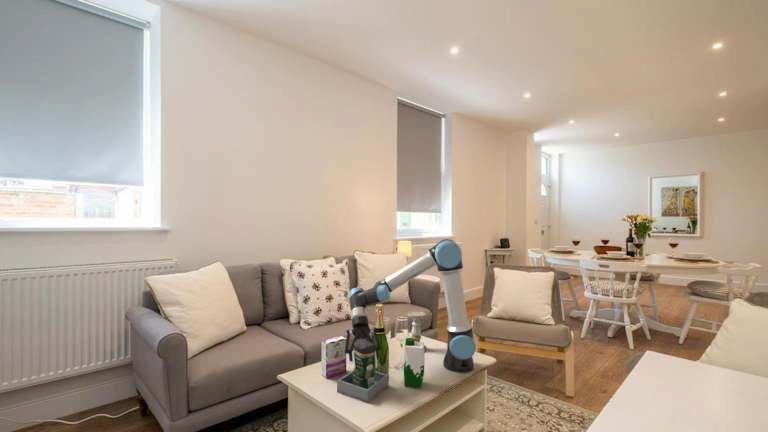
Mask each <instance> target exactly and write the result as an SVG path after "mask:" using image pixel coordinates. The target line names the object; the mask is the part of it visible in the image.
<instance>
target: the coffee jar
mask: <svg viewBox="0 0 768 432" xmlns="http://www.w3.org/2000/svg"><path fill="white" fill-rule="evenodd" d="M374 344H375V343H374ZM374 344H372V343H370V342H368V341H366V339H357V341H356V342H355V343H354V349H353V351H352V352H354V358H355V370H353V369H352V371H353V383H354V384H355V385H356V386H359V387H362V388H370V387H371V386H372V385H374V371H375V365H374V356H375V345H376V344H375V345H374Z"/></svg>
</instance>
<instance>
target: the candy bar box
mask: <svg viewBox="0 0 768 432" xmlns="http://www.w3.org/2000/svg"><path fill="white" fill-rule="evenodd" d="M346 339H347V337H344V336H343V335H339V336H335V337H331V338H328V339H322V340H321V376H322V377H323V378H325V379H330V378H332V377H333V378H334V377H336V376H340V375H342V374H346V373H347V353H346V354H345V345H346Z"/></svg>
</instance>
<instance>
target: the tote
mask: <svg viewBox="0 0 768 432" xmlns="http://www.w3.org/2000/svg"><path fill="white" fill-rule="evenodd" d="M389 381H390V376H389V374H385V373H382V372H380V371H376V372H374V385H372V386H371V387H370V388H362V387H359V386H356V385H355V384H354V383H353V370H352V371H350V372H349V373H347V374H345V375H343V376H342V377H340V378H339V379H338V380H336V393H338V394H341V395H344V396H347V397H350V398H353V399H355V400H358V401H361V402H363V403H366V404H368V403H370V402H371V401H372V400H373V399H374V398H376V397H377V396H379V394H381V393H383V391H385V390H387V388H389V385H390V382H389Z"/></svg>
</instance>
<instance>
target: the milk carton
mask: <svg viewBox="0 0 768 432" xmlns="http://www.w3.org/2000/svg"><path fill="white" fill-rule="evenodd" d="M424 345H425V342H422V341H420V342H415V341H414V339H413V338H411V337H406V338H405V343H404V351H403V353H404V354H403V381H404V388H412V389H419V390H420V389H422V384H423V380H424V376H425V356H426V355H425V352H426V351H424Z"/></svg>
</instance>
